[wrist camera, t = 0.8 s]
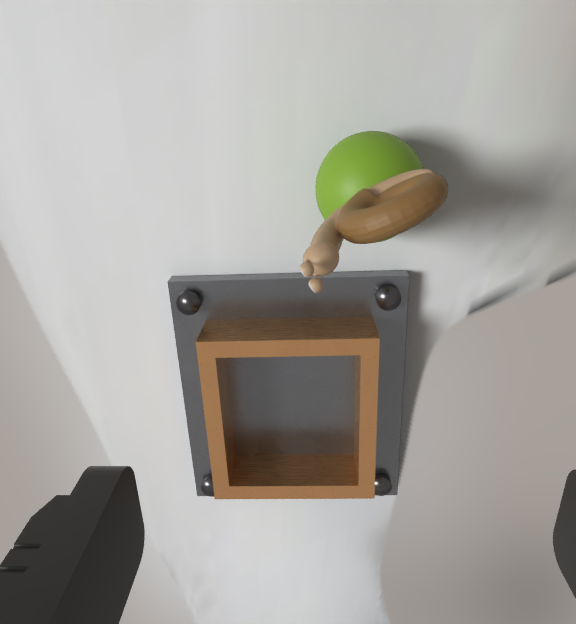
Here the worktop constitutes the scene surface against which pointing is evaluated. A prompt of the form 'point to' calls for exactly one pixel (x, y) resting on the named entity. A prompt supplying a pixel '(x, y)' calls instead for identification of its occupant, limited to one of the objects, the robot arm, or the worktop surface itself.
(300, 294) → the socket plate
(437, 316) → the worktop surface
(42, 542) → the robot arm
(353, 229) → the snail figurine
